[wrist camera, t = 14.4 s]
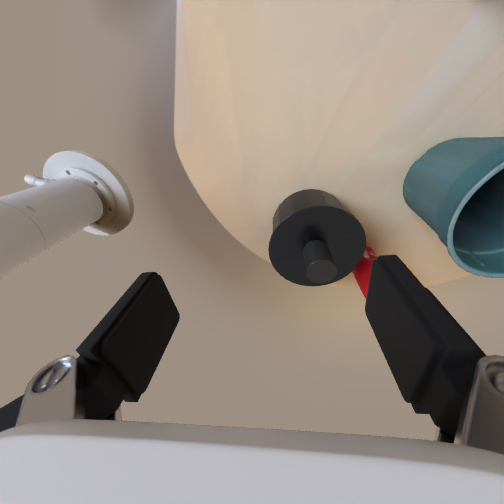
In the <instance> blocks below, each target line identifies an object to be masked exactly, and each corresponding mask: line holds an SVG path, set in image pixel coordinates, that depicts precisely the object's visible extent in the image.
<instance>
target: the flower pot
mask: <svg viewBox="0 0 504 504" xmlns="http://www.w3.org/2000/svg"><path fill="white" fill-rule="evenodd" d="M403 195H404V199H405V201H406V203H407V204H408V206H409V207H410V208H411V209H412V210H413V211H415V212H416V213H417V214H418V215H419V216H420V217H421V218H422V219H423V220H424V221H425V222H426V223H427V224H428V225H429V226H430V227H431V228H432V229H433V230H434V231H435V232H436V233H437V234H438V236H439V238H440V240H441V241H442V242H443V244H444V245H445V246H446V247H447V249H448V252H449V254H450V256H451V257H452V259H453V260H454V262H455V263H456V264H457V265H458V266H459V267H461V268H462V269H464V270H465V271H467V272H469V273H472V274H475V275H479V276H484V277H491V278H504V137H488V138H457V139H451V140H448V141H445V142H442V143H440V144H438V145H436V146H434V147H432V148H431V149H429V150H428V151H427V152H426V153H425V154H424V155H423V156H422V157H421V158H420V159H419V160H417V161H416V162H415V163H414V164H413V165H412V167H411V168H410V170H409V171H408V173H407V175H406V178H405V181H404V186H403Z"/></svg>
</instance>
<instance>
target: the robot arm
mask: <svg viewBox="0 0 504 504" xmlns="http://www.w3.org/2000/svg"><path fill="white" fill-rule="evenodd" d="M24 181H25V182H26V183H28V184H31V185H33V186H36V187H33V188H30V189H26V190H23V191H19V192H16V193H13V194H9V195H6V196H2V197H0V279H1V278H3V277H4V276H5V275H7V274H8V273H10V272H11V271H13V270H14V269H16V268H17V267H19V266H20V265H22V264H24V263H25V262H27V261H29V260H30V259H32V258H34V257H35V256H37V255H39V254H40V253H42V252H44V251H46V250H47V249H49V248H51V247H52V246H54V245H56V244H57V243H59V242H61V241H63V240H64V239H66V238H68V237H69V236H71V235H73V234H75V233H76V232H78V231H80V230H81V229H83V228H85V227H87V226H88V225H91V226H102V225H105V224H107V223H109V222H110V221H111V220H112V219H113V218H114V216H115V213H116V203H115V200H114V197H113V195H112V193H111V191H110V190H109V188H108V187H107V185H106V184H105V183H104V182H103V181H102V180H101V179H100V178H98V177H97V176H96V175H94V174H93V173H91V172H89V171H87V170H85V169H81V168H76V167H70V168H66V169H62V170H60V171H59V172H58V173H57V174H56V175H55V177H54V179H53V180H49V179H44V180H43V179H41V178H39V177H37V176H34V175H31V174H27V175H26V176H25V178H24ZM365 311H366V316H367V318H368V320H369V322H370V325H371V327H372V329H373V331H374V333H375V336H376V338H377V340H378V343H379V345H380V347H381V349H382V351H383V354H384V356H385V358H386V360H387V363H388V365H389V367H390V369H391V371H392V374H393V376H394V378H395V380H396V383H397V385H398V387H399V390H400V391H401V394H402V396H403V398H404V400H405V401H406V402H408V403H411V404H412V407H413V409H414V411H415V413H417V414H430V416H431V418H432V420H433V422H434V424H435V425H436V426H437V430H436V433H435V437H434V441H429V440H420V439H408V438H396V437H384V436H383V437H382V436H371V435H358V434H343V433H325V432H311V431H295V430H294V431H293V430H279V429H262V428H245V427H244V428H243V427H227V426H210V425H192V424H174V423H154V422H135V421H122V417H121V407H120V404H121V403H122V401H123V400H125V402H138V400H139V398H140V396H141V394H142V393H144V391H146V389H147V387H148V385H149V383H150V381H151V378H152V376H153V374H154V372H155V370H156V368H157V366H158V364H159V362H160V360H161V358H162V355H163V353H164V351H165V349H166V347H167V345H168V343H169V341H170V339H171V336H172V334H173V332H174V330H175V328H176V326H177V324H178V322H179V318H180V317H179V312H178V310H177V308H176V306H175V304H174V302H173V300H172V298H171V296H170V294H169V292H168V290H167V287H166V285H165V283H164V281H163V279H162V277H161V276H160V275H158V274H157V273H156V272H146V273H142V274H141V275H140V276H139V277H138V278H137V279H136V281H135V282H134V283H133V284H132V285H131V286H130V288H129V289H128V290H127V291H126V292H125V293H124V295H123V296H122V297H121V298H120V299H119V300H118V301H117V303H116V304H115V305H114V306H113V307H112V308H111V310H110V311H109V312H108V313H107V314H106V315H105V317H104V318H103V319H102V320H101V321H100V322H99V324H98V325H97V326H96V327H95V328H94V330H93V331H92V332H91V333H90V334H89V335H88V337H87V338H86V339H85V340H84V341H83V342H82V343H81V345H80V346H79V347H78V348H77V349H76V351H77V352H78V353H79V354H80V356H79V357H78V358H77V359H76V358H75V357H74V356H70V355H67V356H63V357H60V358H58V359H55V360H54V361H52V362H50V363H48V364H47V365H46V366H44V367H43V368H42V369H40V371H38V372H37V373H36V374H35V375H34V377H33V378H32V379H31V381H30V382H29V383H28V385H27V387H26V390H25V393H24V395H22V396H20V397H19V398H17V399H15V400H14V401H12V402H10V403H9V404H7V405H5V406H4V407H2V408H0V504H504V356H497V355H491V356H486V355H485V354H484V352H483V351H482V350H481V349H480V348H479V347H478V345H477V344H476V343H475V342H474V341H473V340H472V338H471V337H470V336H469V335H468V334H467V333H466V332H465V330H464V329H463V328H462V327H461V326H460V325H459V324H458V323H457V321H456V320H455V319H454V318H453V317H452V316H451V314H450V313H449V312H448V311H447V310H446V309H445V308H444V306H443V305H442V304H441V303H440V302H439V301H438V300H437V298H436V297H435V296H434V295H433V294H432V293H431V292H430V291H429V290H428V289H427V288H425V287H424V286H423V285H422V284H421V283H420V282H419V280H418V279H417V278H416V277H415V276H414V275H413V273H412V272H411V271H410V270H409V269H408V268H407V266H406V265H405V264H404V263H403V262H402V261H401V259H400V258H399V257H398V256H397V255H384V256H379V257H378V258H377V260H374V261H373V263H372V269H371V275H370V281H369V287H368V293H367V299H366V305H365Z"/></svg>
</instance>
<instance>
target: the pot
mask: <svg viewBox="0 0 504 504" xmlns="http://www.w3.org/2000/svg"><path fill="white" fill-rule="evenodd" d="M312 205H331V206H336V207H339V208H342V209H344V208H343V206H342V205H341V204H340V203H339V202H338V200H337V199H336V198H335V197H334V196H332V195H331V194H329V193H327V192H324V191H321V190H315V189H309V190H302V191H299V192H296V193H294V194H292V195H290V196H289V197H287V198H286V199H285V200H284V201H283V202H282V203H281V204H280V205H279V207H278V209H277V210H276V213H275V215H274V217H273V231H274V229H275V228H276V226H277V225H278V224H279V223H280V222H281V221H282V220H283V219H284V218H285V217H286V216H288V215H289V214H290V213H292V212H294V211H296V210H298V209H301V208H304V207H307V206H312ZM344 210H345V209H344Z"/></svg>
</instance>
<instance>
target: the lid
mask: <svg viewBox="0 0 504 504" xmlns="http://www.w3.org/2000/svg"><path fill="white" fill-rule="evenodd" d="M365 247H366V237H365V233H364V230H363V228H362V226H361V224H360V223H359V221H358V220H357V219H356V218H355V217H354V216H353V215H352V214H350V213H349V212H348V211H346V210H344V209H342V208H339V207H336V206H331V205H312V206H307V207H304V208H301V209H298V210H296V211H294V212H292V213H290V214H289V215H288V216H286V217H285V218H284V219H283V220H282V221H281V222H280V223H279V224H278V225H277V226H276V228H275V229H274V231H273V233H272V235H271V238H270V242H269V257H270V260H271V263H272V265H273V267H274V268H275V270H276V271H277V272H278V273H279V274H280V275H281V276H283V277H284V278H285V279H287V280H289V281H291V282H293V283H296V284H299V285H304V286H321V285H327V284H330V283H333V282H336V281H338V280H340V279H342V278H344V277H345V276H347V275H348V274H349V273H351V272H352V271H353V270H354V269H355V268H356V267H357V265H358V264H359V263H360V261H361V259H362V257H363V255H364V252H365Z"/></svg>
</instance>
